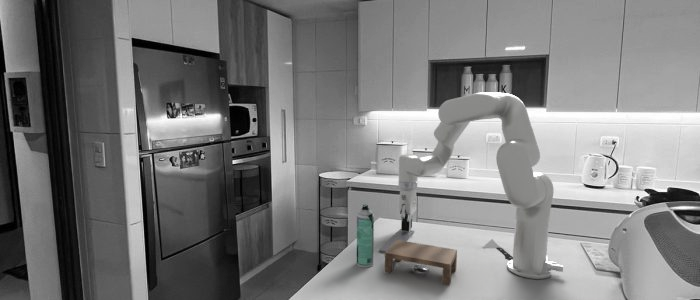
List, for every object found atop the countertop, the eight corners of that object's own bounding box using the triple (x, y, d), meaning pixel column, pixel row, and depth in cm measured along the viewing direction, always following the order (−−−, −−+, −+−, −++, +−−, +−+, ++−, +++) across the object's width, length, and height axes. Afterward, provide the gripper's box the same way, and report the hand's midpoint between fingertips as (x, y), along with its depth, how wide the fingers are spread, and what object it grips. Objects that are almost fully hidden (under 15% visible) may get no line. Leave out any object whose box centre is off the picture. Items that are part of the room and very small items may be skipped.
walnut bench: (456, 269, 120) (457, 249, 119) (449, 285, 109) (450, 264, 108) (396, 258, 128) (396, 239, 128) (384, 272, 118) (384, 252, 117)
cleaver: (488, 261, 127) (518, 261, 127) (488, 260, 127) (518, 259, 127) (461, 232, 156) (485, 232, 156) (461, 230, 156) (485, 230, 156)
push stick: (414, 232, 154) (414, 214, 153) (395, 254, 131) (395, 233, 130) (400, 230, 156) (400, 212, 155) (379, 252, 134) (379, 231, 133)
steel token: (430, 270, 120) (430, 266, 120) (426, 276, 116) (426, 273, 115) (415, 267, 122) (415, 263, 122) (410, 273, 118) (411, 269, 118)
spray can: (375, 262, 125) (376, 204, 122) (369, 268, 120) (370, 208, 118) (360, 259, 127) (360, 202, 125) (353, 265, 122) (354, 206, 120)
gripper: (411, 190, 142) (409, 237, 145) (422, 182, 157) (420, 224, 159) (392, 188, 145) (391, 234, 148) (404, 180, 160) (403, 222, 162)
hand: (406, 228), depth 153 cm, fingers closed on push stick, 3 cm apart
